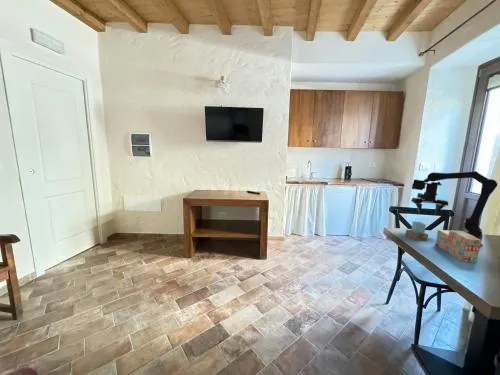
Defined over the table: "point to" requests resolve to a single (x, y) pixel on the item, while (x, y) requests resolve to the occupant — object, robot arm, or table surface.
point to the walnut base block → (416, 235)
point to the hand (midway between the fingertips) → (427, 214)
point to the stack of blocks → (459, 244)
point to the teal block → (418, 227)
